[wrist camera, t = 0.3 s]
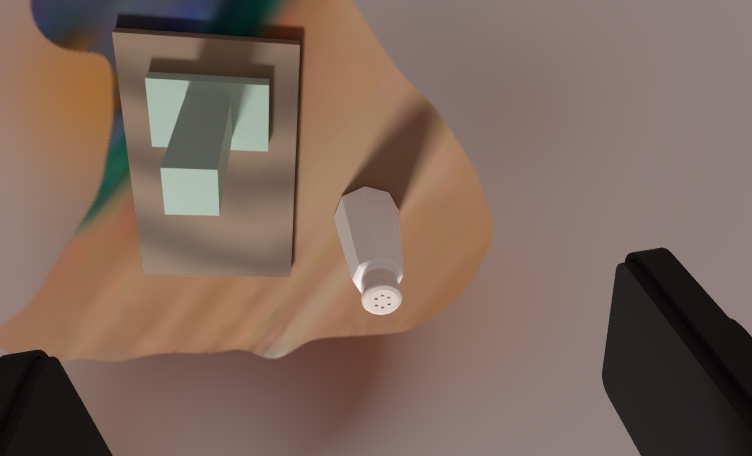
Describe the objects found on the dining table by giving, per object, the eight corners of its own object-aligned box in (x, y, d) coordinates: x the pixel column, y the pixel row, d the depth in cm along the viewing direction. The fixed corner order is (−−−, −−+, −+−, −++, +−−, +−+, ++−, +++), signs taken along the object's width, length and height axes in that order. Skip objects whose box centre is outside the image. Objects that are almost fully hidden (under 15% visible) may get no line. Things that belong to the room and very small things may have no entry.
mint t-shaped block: (148, 71, 42) (108, 149, 32) (269, 78, 43) (264, 155, 34) (155, 138, 44) (120, 228, 35) (268, 143, 46) (263, 231, 36)
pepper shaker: (399, 236, 53) (421, 326, 44) (335, 242, 53) (345, 334, 44) (398, 182, 50) (422, 266, 41) (330, 188, 50) (340, 274, 41)
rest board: (115, 27, 41) (112, 32, 40) (299, 40, 43) (300, 45, 42) (145, 267, 52) (143, 274, 51) (290, 269, 54) (290, 276, 53)
